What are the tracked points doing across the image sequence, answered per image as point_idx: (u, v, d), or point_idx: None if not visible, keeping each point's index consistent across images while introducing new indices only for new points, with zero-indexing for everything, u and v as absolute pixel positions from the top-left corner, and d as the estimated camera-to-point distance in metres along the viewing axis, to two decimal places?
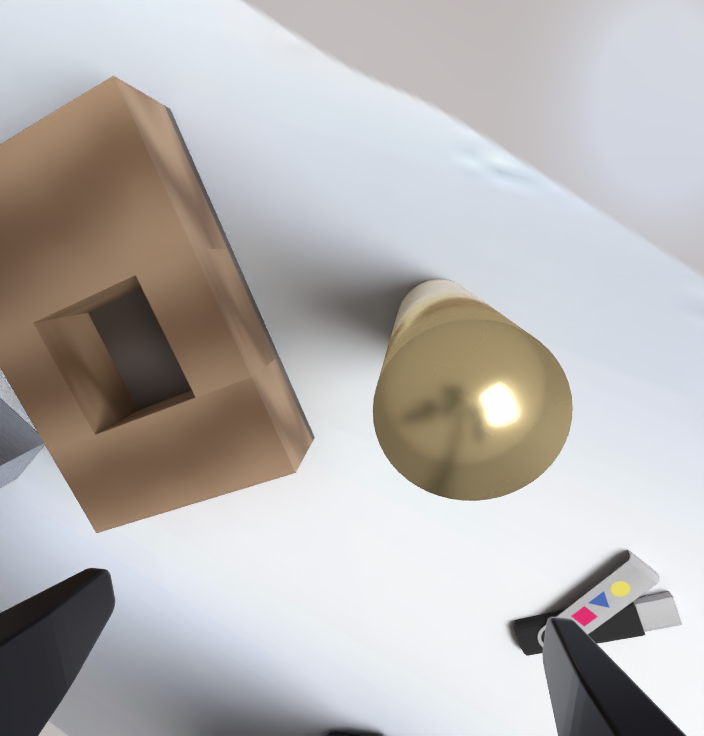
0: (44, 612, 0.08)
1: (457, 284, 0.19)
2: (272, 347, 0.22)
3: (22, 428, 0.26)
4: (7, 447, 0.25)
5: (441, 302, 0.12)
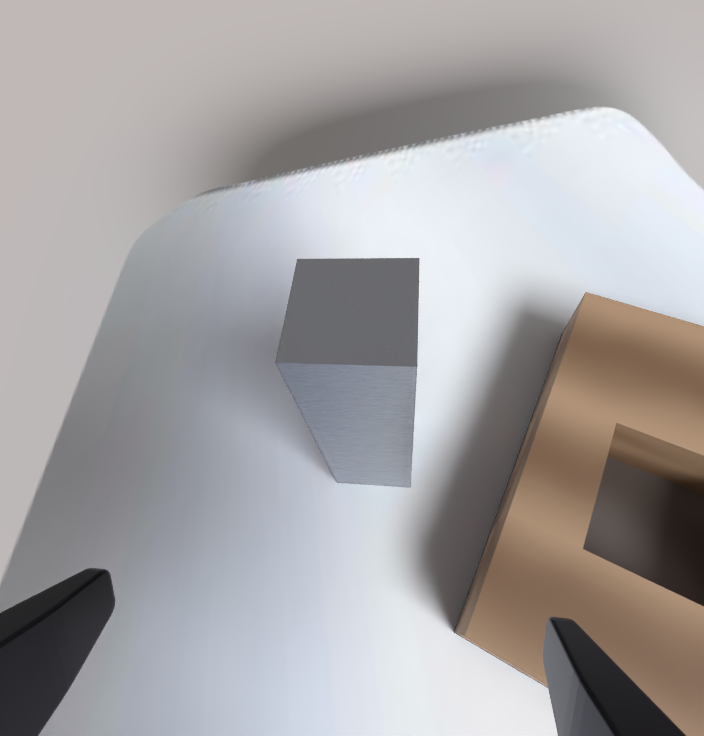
0: (44, 612, 0.08)
1: None
2: None
3: None
4: None
5: None
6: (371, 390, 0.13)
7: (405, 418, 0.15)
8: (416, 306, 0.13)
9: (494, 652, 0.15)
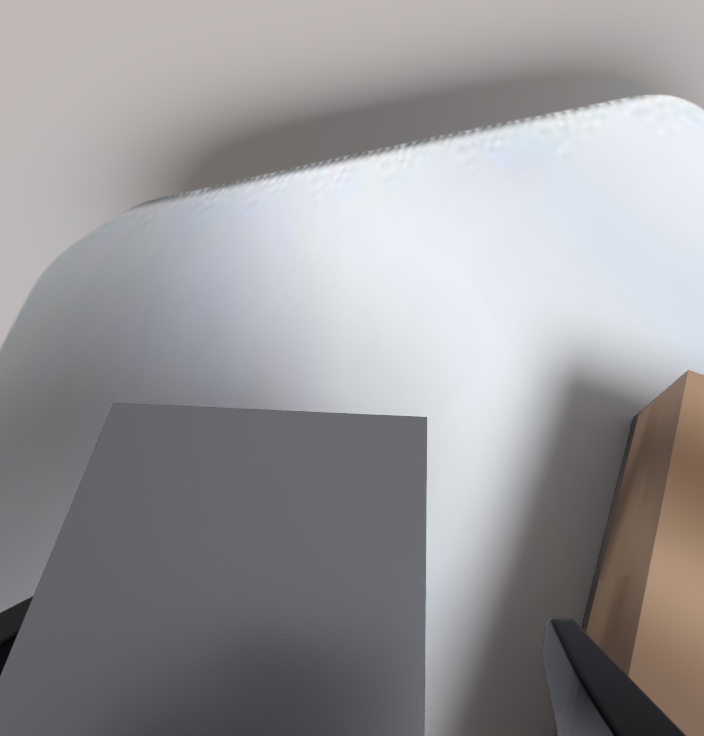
0: None
1: None
2: None
3: None
4: None
5: None
6: None
7: None
8: (419, 604, 0.04)
9: None
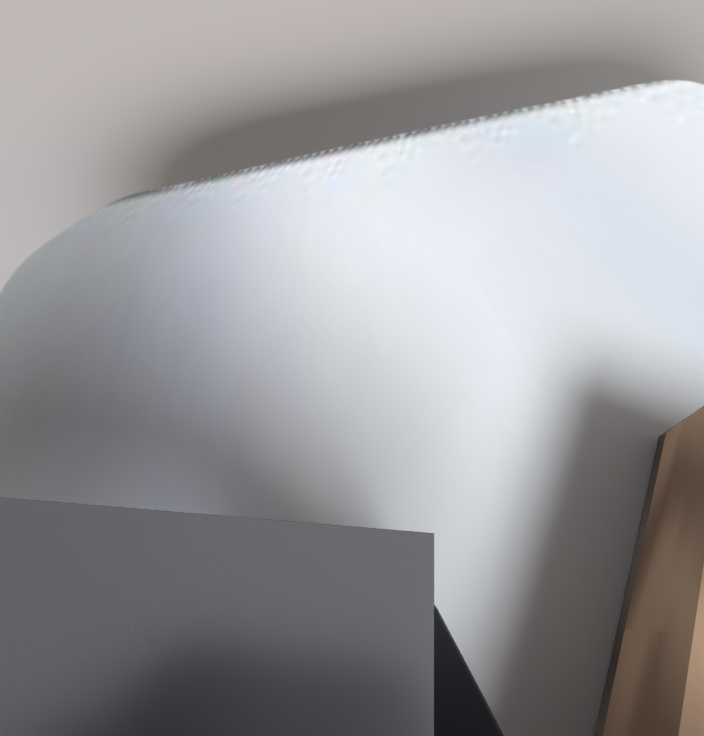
0: None
1: None
2: None
3: None
4: None
5: None
6: None
7: None
8: None
9: None
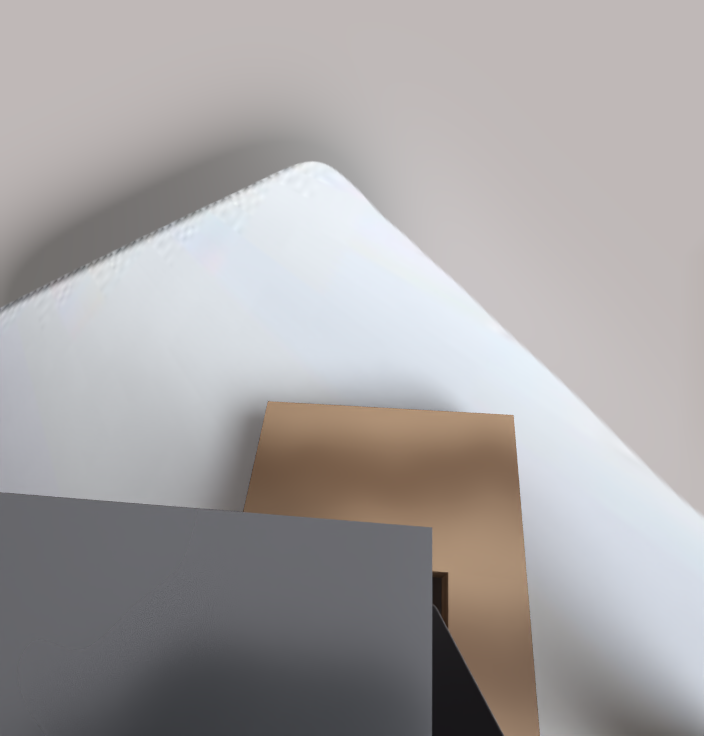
0: None
1: None
2: None
3: None
4: None
5: None
6: None
7: None
8: None
9: None
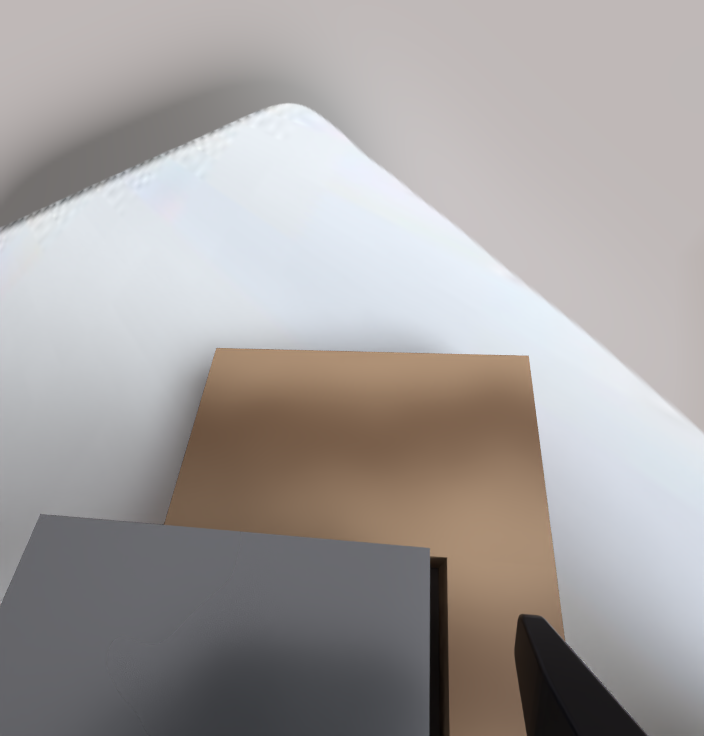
0: None
1: None
2: None
3: None
4: None
5: None
6: None
7: None
8: None
9: None
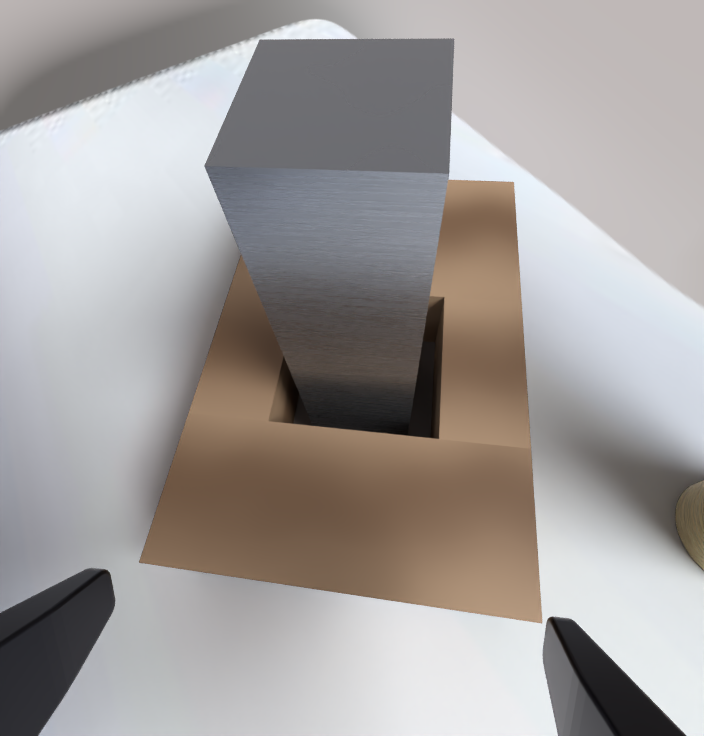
0: (44, 612, 0.08)
1: None
2: None
3: None
4: None
5: None
6: (366, 243, 0.08)
7: (413, 309, 0.10)
8: (448, 96, 0.08)
9: (172, 565, 0.13)
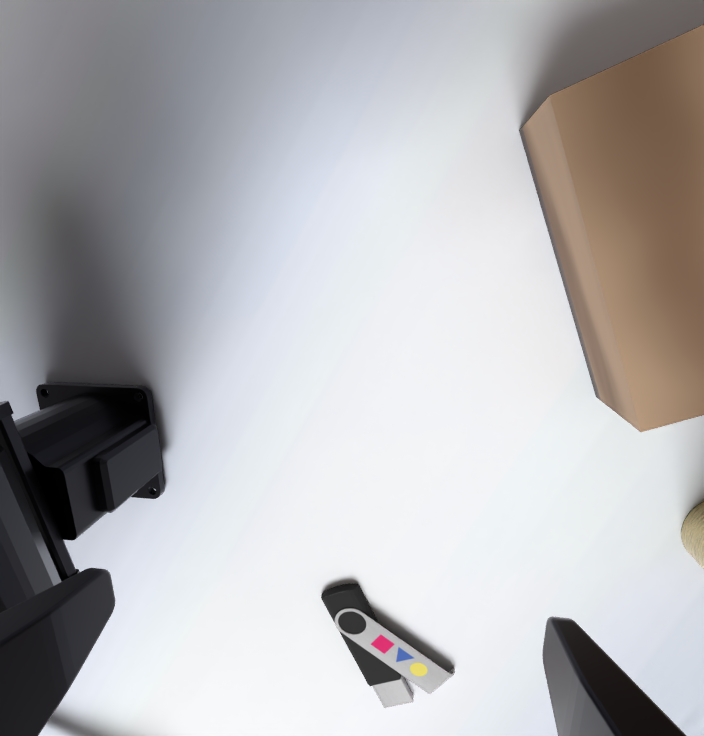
0: (44, 612, 0.08)
1: None
2: None
3: None
4: None
5: None
6: None
7: None
8: None
9: (561, 130, 0.13)
